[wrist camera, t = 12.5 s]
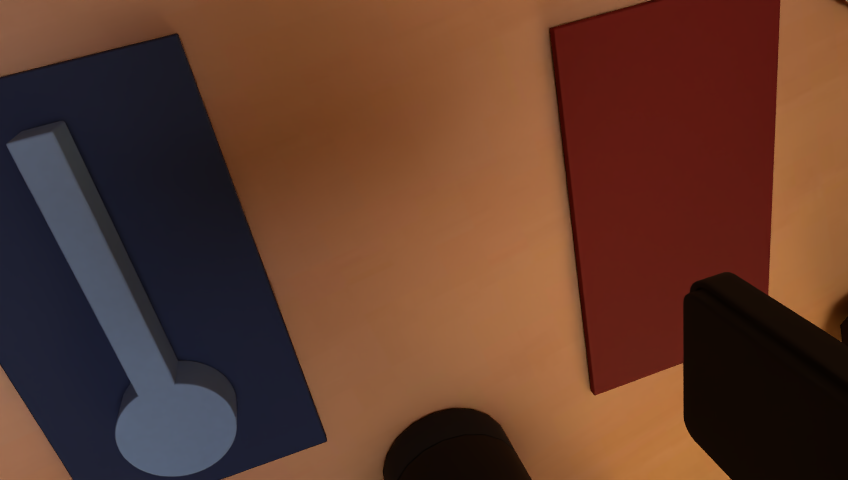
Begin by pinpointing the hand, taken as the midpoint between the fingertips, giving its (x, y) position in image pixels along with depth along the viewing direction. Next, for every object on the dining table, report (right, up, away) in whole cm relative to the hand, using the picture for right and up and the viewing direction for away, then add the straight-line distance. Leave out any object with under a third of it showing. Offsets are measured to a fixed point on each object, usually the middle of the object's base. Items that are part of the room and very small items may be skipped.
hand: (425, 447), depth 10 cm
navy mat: (-11, +1, +14) cm, 18 cm away
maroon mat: (+11, +5, +19) cm, 23 cm away
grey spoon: (-11, +1, +14) cm, 18 cm away
